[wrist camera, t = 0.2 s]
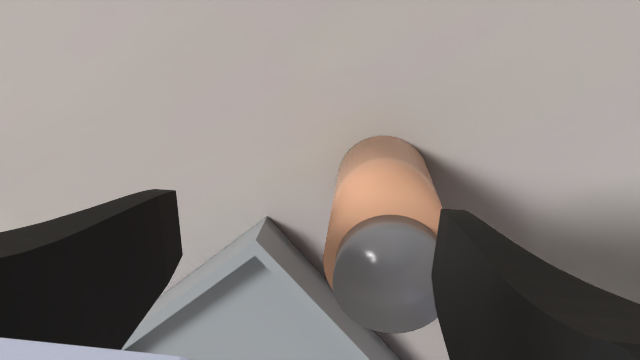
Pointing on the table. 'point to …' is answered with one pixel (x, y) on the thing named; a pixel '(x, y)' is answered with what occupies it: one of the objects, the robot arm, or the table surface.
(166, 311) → the tray
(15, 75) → the table surface
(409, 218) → the shaker
